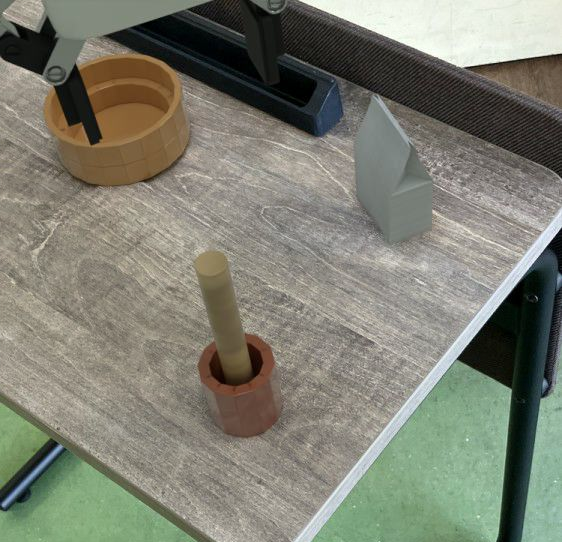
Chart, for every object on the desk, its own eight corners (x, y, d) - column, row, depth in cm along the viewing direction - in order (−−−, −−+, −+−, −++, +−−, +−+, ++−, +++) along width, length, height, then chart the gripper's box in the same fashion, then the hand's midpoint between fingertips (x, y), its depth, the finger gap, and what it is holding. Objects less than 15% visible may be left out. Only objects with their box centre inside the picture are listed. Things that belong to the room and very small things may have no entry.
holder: (202, 432, 69) (187, 387, 64) (225, 374, 72) (212, 326, 67) (270, 446, 68) (260, 401, 63) (291, 387, 71) (283, 339, 66)
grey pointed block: (390, 249, 77) (389, 156, 69) (356, 195, 81) (351, 101, 73) (431, 233, 78) (435, 140, 69) (395, 180, 81) (395, 86, 73)
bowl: (38, 179, 86) (20, 137, 82) (91, 90, 92) (77, 47, 88) (163, 198, 83) (151, 155, 79) (209, 105, 89) (199, 61, 85)
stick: (229, 414, 69) (189, 272, 56) (238, 392, 70) (200, 247, 57) (255, 420, 69) (221, 278, 56) (263, 397, 70) (232, 252, 57)
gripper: (269, -358, 39) (304, 9, 53) (-148, -242, 37) (4, 107, 51) (341, -290, 35) (358, 88, 49) (-125, -155, 33) (34, 199, 47)
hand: (178, 98), depth 50 cm, fingers open, 9 cm apart
